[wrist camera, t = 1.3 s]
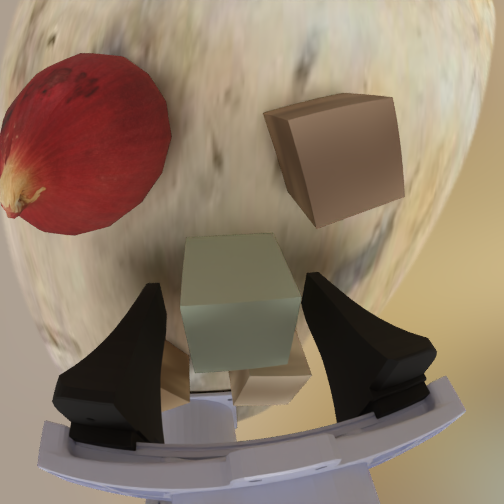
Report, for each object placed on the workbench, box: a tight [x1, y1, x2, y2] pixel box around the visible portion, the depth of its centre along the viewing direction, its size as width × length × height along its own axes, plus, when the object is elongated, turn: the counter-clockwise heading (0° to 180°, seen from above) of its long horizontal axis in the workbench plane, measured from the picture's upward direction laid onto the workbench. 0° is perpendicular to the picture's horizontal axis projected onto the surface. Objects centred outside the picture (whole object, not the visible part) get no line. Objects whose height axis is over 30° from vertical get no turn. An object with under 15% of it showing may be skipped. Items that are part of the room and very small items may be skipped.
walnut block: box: [263, 93, 405, 229], centre depth 10 cm, size 4×4×4 cm
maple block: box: [229, 330, 312, 406], centre depth 17 cm, size 4×4×4 cm
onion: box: [0, 53, 172, 235], centre depth 6 cm, size 6×6×8 cm
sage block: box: [180, 233, 301, 373], centre depth 13 cm, size 4×4×5 cm
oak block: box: [161, 340, 190, 412], centre depth 16 cm, size 4×4×4 cm
